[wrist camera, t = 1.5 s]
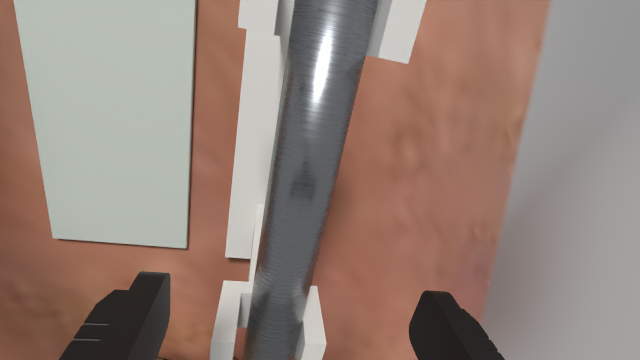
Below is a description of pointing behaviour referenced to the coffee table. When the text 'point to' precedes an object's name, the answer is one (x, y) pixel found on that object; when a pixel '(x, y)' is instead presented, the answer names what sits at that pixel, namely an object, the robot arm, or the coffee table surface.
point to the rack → (257, 146)
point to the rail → (305, 165)
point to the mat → (112, 115)
